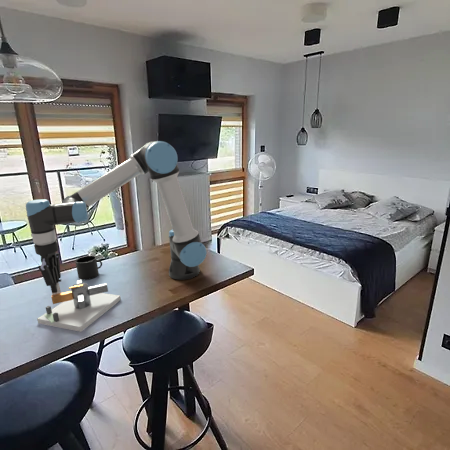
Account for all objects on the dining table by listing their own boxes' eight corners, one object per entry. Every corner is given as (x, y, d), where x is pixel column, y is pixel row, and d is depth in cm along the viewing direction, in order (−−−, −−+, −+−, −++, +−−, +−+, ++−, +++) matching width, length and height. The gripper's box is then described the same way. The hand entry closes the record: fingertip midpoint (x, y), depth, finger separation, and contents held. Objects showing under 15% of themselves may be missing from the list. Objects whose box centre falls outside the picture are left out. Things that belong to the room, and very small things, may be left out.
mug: (106, 274, 158) (103, 257, 155) (81, 282, 151) (78, 264, 148) (100, 269, 165) (97, 252, 162) (76, 275, 158) (73, 259, 155)
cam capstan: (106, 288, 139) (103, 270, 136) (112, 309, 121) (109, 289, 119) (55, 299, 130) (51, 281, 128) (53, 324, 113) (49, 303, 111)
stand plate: (120, 299, 133) (119, 289, 131) (79, 333, 111) (76, 320, 110) (82, 294, 139) (80, 283, 138) (36, 324, 117) (33, 312, 116)
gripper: (42, 236, 122) (54, 291, 129) (26, 248, 109) (40, 308, 116) (62, 235, 122) (73, 289, 129) (48, 247, 110) (61, 306, 117)
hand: (57, 298), depth 123 cm, fingers closed
